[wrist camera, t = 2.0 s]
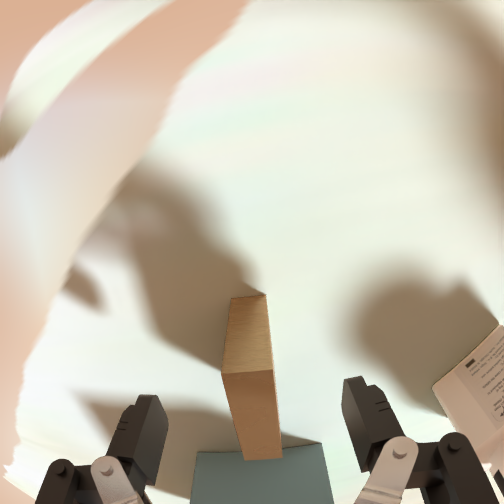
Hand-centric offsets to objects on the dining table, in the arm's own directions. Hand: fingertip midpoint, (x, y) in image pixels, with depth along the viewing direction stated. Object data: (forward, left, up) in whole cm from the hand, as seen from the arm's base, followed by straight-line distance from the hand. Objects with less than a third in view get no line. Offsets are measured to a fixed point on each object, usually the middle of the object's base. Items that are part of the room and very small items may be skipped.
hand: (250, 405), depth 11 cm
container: (-18, +8, -5) cm, 21 cm away
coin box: (+1, +18, -5) cm, 19 cm away
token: (0, 0, -5) cm, 5 cm away
